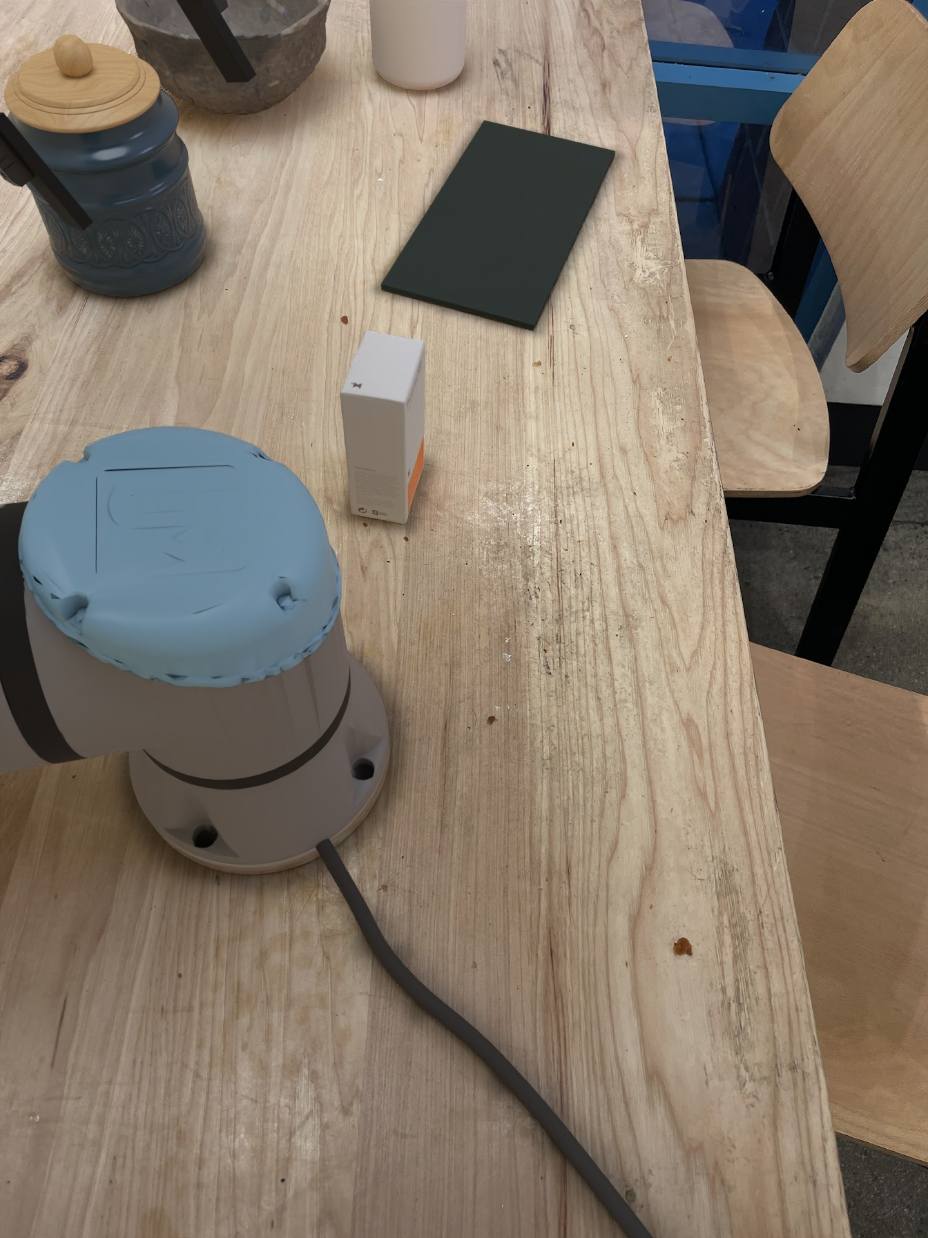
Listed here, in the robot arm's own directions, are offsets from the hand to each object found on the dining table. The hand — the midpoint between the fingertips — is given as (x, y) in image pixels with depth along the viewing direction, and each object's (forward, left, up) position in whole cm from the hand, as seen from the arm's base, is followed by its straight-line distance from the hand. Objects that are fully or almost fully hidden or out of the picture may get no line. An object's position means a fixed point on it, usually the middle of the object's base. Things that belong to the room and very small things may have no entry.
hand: (163, 150), depth 53 cm
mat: (+12, -31, -20) cm, 39 cm away
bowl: (+42, -15, -20) cm, 49 cm away
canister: (+20, +2, -20) cm, 28 cm away
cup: (+39, -34, -20) cm, 56 cm away
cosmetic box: (-14, -8, -20) cm, 26 cm away
